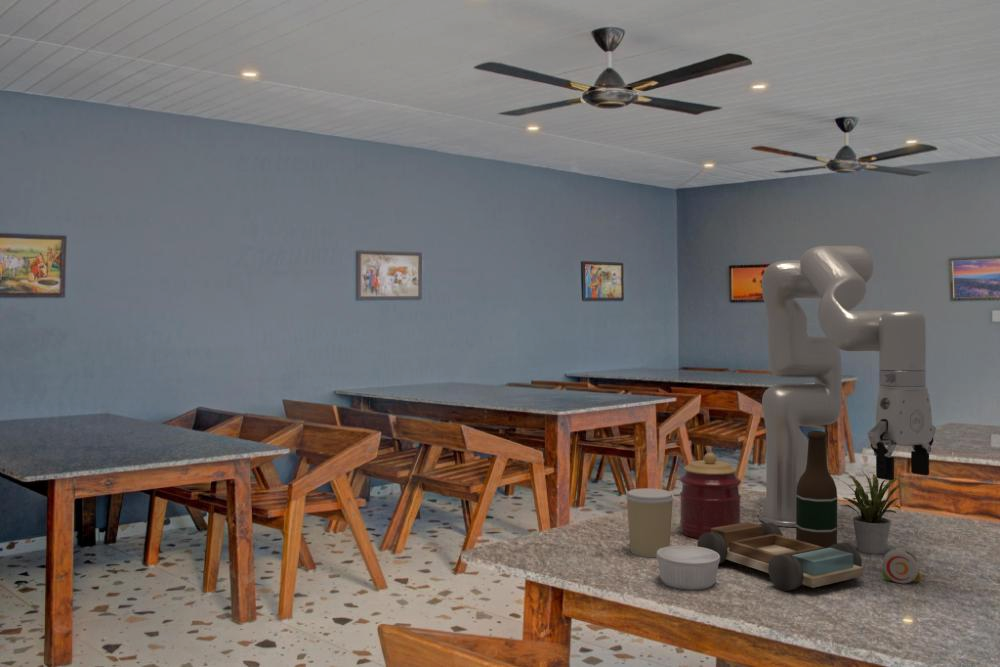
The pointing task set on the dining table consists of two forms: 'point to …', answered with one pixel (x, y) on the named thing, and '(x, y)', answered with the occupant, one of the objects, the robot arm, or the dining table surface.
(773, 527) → the chassis
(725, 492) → the canister
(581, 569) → the dining table surface
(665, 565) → the ramekin
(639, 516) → the coffee cup
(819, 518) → the beer bottle
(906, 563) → the roller toy
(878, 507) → the house plant
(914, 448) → the robot arm
